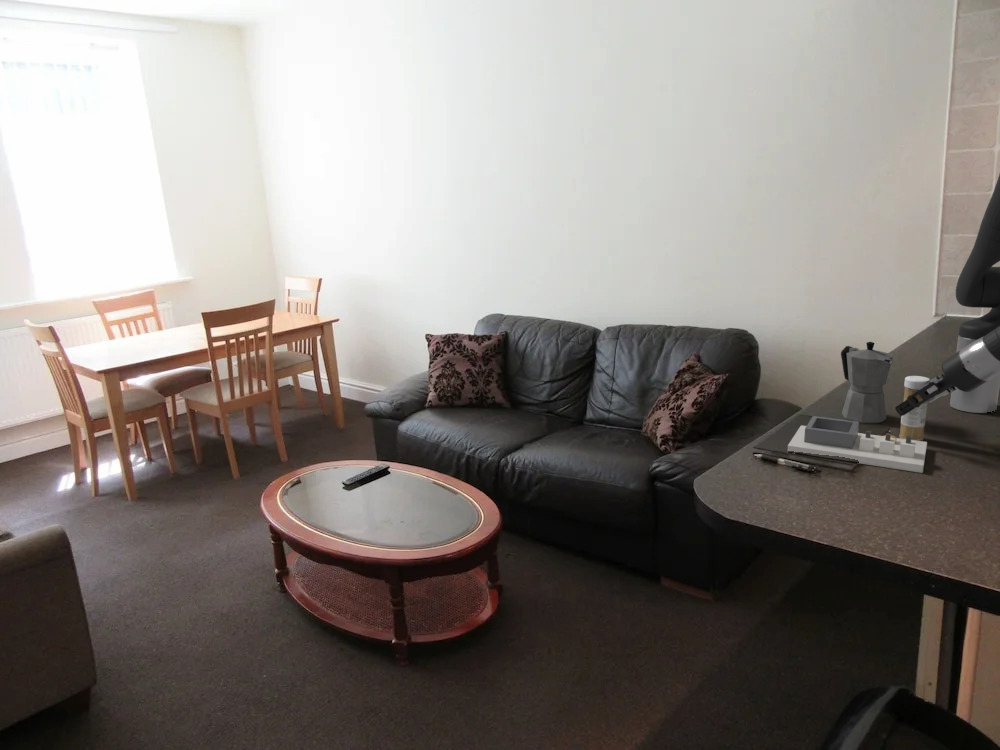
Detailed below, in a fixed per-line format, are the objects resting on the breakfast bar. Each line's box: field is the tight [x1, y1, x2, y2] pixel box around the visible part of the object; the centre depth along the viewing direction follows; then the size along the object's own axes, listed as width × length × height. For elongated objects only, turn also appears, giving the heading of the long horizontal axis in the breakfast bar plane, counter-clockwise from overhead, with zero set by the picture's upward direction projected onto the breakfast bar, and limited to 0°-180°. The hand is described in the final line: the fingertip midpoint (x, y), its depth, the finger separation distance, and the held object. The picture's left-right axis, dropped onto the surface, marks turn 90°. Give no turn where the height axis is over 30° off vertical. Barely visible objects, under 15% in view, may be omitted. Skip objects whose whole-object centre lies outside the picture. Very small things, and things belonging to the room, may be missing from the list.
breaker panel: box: [787, 415, 928, 474], centre depth 142 cm, size 14×24×5 cm, turn 57°
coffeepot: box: [840, 341, 894, 424], centre depth 161 cm, size 15×9×18 cm, turn 13°
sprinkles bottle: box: [898, 375, 931, 441], centre depth 146 cm, size 5×5×14 cm
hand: (907, 407), depth 147 cm, fingers open, 8 cm apart
